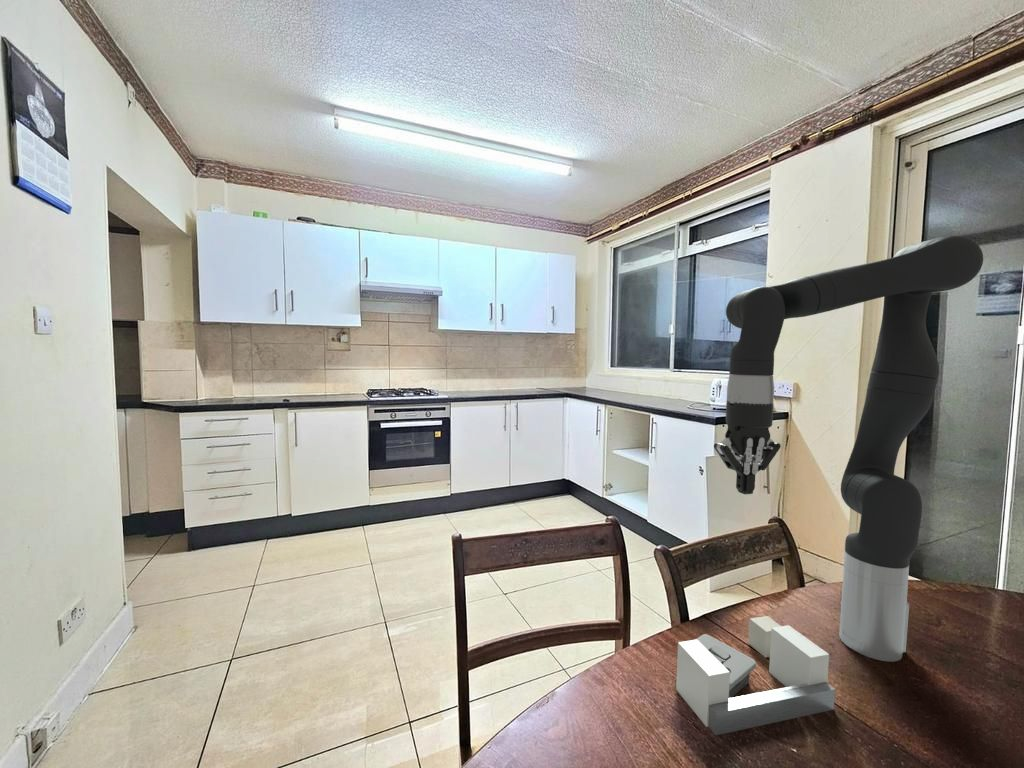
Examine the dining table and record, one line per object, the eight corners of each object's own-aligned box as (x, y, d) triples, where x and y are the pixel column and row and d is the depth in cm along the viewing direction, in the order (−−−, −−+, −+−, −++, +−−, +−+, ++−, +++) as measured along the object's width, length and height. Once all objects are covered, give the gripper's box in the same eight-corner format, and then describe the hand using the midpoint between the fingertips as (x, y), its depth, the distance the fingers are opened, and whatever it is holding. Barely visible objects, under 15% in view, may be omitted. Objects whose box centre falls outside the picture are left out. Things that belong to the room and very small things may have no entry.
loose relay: (766, 641, 83) (767, 615, 83) (783, 655, 80) (784, 628, 79) (748, 643, 83) (749, 618, 82) (764, 658, 79) (766, 631, 78)
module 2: (784, 668, 76) (787, 624, 75) (825, 703, 68) (829, 654, 68) (767, 671, 75) (770, 626, 75) (807, 706, 68) (810, 657, 67)
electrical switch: (731, 687, 66) (677, 643, 74) (723, 714, 67) (671, 669, 75) (760, 662, 72) (707, 624, 79) (752, 688, 73) (701, 648, 80)
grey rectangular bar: (822, 701, 69) (823, 679, 69) (833, 710, 67) (835, 689, 67) (706, 725, 64) (707, 702, 64) (715, 736, 62) (716, 713, 62)
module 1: (694, 684, 72) (696, 638, 71) (727, 723, 64) (729, 671, 64) (675, 688, 71) (677, 641, 71) (706, 727, 64) (709, 675, 63)
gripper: (763, 397, 85) (759, 485, 86) (704, 398, 82) (700, 489, 83) (797, 401, 77) (791, 497, 79) (733, 402, 74) (728, 502, 75)
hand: (744, 492), depth 81 cm, fingers closed
